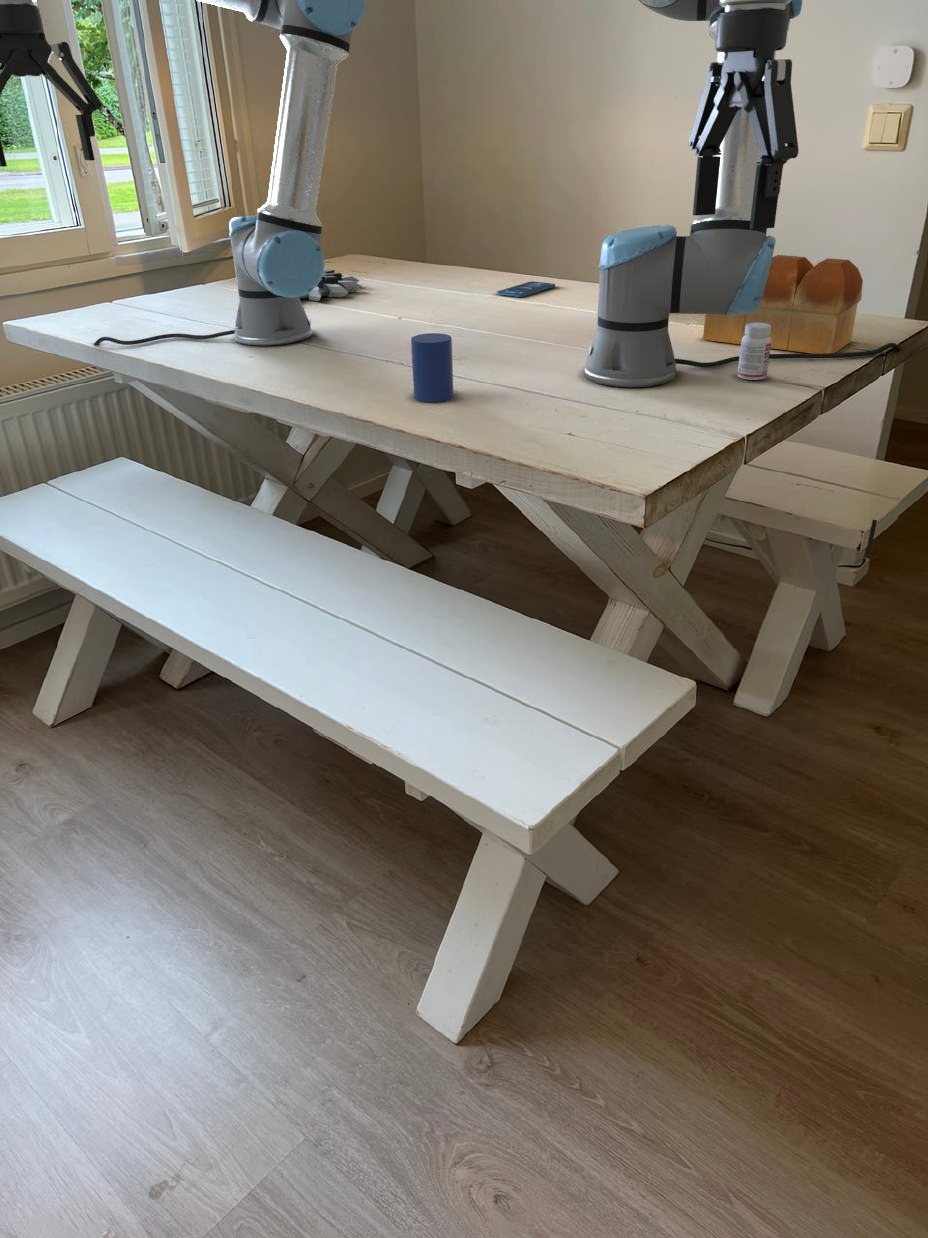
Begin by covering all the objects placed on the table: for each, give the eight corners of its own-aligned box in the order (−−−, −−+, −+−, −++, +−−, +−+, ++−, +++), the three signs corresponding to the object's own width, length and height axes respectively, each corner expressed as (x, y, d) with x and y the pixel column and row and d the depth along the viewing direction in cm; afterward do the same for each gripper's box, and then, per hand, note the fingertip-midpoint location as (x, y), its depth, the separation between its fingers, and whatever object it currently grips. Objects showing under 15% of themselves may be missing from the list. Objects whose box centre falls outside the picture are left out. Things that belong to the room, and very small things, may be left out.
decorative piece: (302, 291, 211) (212, 280, 226) (304, 309, 213) (214, 296, 228) (388, 270, 232) (300, 260, 247) (389, 286, 234) (302, 276, 249)
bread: (700, 339, 180) (707, 257, 172) (725, 326, 188) (734, 247, 181) (832, 356, 167) (847, 268, 159) (853, 341, 175) (868, 257, 168)
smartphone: (494, 291, 222) (531, 280, 232) (494, 294, 222) (531, 283, 232) (521, 295, 218) (557, 283, 228) (521, 297, 218) (557, 286, 228)
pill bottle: (768, 380, 155) (775, 328, 150) (738, 380, 155) (744, 328, 151) (765, 372, 159) (772, 321, 155) (736, 372, 160) (742, 321, 155)
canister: (416, 403, 150) (413, 343, 145) (412, 392, 155) (409, 334, 150) (455, 401, 150) (454, 341, 146) (450, 389, 156) (448, 331, 151)
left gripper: (-76, 0, 130) (-31, 169, 141) (103, 3, 143) (131, 158, 154) (-86, 4, 135) (-43, 167, 146) (87, 6, 148) (115, 156, 159)
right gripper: (670, 16, 111) (656, 211, 122) (787, 0, 90) (758, 236, 101) (727, 15, 113) (709, 207, 123) (855, -1, 92) (820, 232, 102)
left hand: (47, 163), depth 150 cm, fingers open, 13 cm apart
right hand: (731, 221), depth 112 cm, fingers open, 13 cm apart
